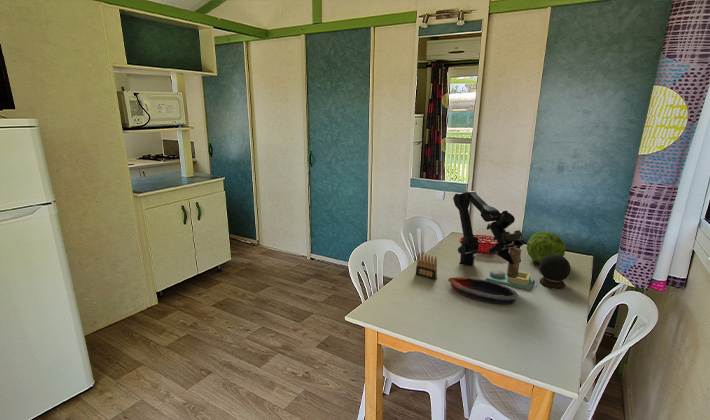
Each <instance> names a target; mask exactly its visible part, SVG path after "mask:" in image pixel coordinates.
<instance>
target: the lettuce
mask: <svg viewBox="0 0 710 420" xmlns="http://www.w3.org/2000/svg"><path fill="white" fill-rule="evenodd" d="M526 251H527V254H528V255H529V257H530V258H531V260H533V261H534V262H536V263H538V264H539V265H540V262H541V260H542V259H543V258H544V257H545V256H547V255H550V254H558V255H561V256H563V257H565V254H566V246H565V242H564V241H563V239H561V236H559V235H557V234H555V233H553V232H550V231H545V230H544V231H539V232H535V233H534V234H532V235H531V236H530V238H529V239H528V241H527V243H526Z"/></svg>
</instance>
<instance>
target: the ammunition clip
mask: <svg viewBox="0 0 710 420" xmlns="http://www.w3.org/2000/svg"><path fill="white" fill-rule="evenodd" d="M430 256H431V257H430ZM437 258H438V257H437V256H434V255H430V254H428V256H427V254H426V253H425V254H424V253H420V252H418V254H417V260H416V267H415V276H419V277H422V278H426V279H429V280H433V281H436V280H437V279H438V276H437V275H438V269H437V268H438V267H437V266H438V263H437V262H438V259H437Z"/></svg>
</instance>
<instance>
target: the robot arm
mask: <svg viewBox="0 0 710 420" xmlns="http://www.w3.org/2000/svg"><path fill="white" fill-rule="evenodd" d="M452 200H453V203H454V206H455V207H456V209H458V213H459V219H460V223H461V224H460V225H461V231H462V235H463V236H462V237H463V239H462V240H461V241H462V245H460V246H459V247H458V248H457V252H458V253H459V254H460V259H459V263H458V264H459V265H463V266H466V267H472V266H473V265H474V264H475V258H476V257H475V254H477V253H478V252H477V251H478V249H479V242H480V241H479V240H478V237H475V236H474V235H475V234H474V233H473V226H472V221H471V215H470V210H469V207H470V204H472V205H473V206H474V207H475V208H476V209H477V210H478V211H479V212H480V216H481V219H483V221H484V222H485V223H488V224H487V226H486V230H487V231H488V230H490V231H491V233H492V235H493V237H495V238H493V239H494V240H495V241H497V243H498V244H495V245H494V246H493V247H491V248H490V249H489V252H490V254H489V255H492V256H493V255H495V254H496V255H497V256H498V257H500V258H502V259H503V260H504V261H506V262H507V263H510V264H514V262H513V260H512V258H511V256H510V250H509V248H519V249H521V247H522V246H524V245H525V244H527V243H526V241H525V239H524V238H523V233H522V231H521V230H520V229H519V230H515V231H514V232H513V233H510V231H507V230H506V229H507V228H509V227H510V226H511V225H513V224H514V223H515V216H514V215H513V214H512V213H510V212H508V210H503V211H502V212H500V211H499V210H498V209H497V208H495V207H493V206H490V205H489V204H488V203H486V202H485V201H484V200H483V199H482V198H481V197H480V196H479V195H478V194H477V192H476V191H475V190H474V191H473V190H470V191H466V192H459V193H455V194H454V195H453V196H452ZM490 222H491V223H490ZM478 241H479V242H478ZM496 251H498V253H496ZM521 262H522V260H521V257H520V263H521Z"/></svg>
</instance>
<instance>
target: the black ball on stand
mask: <svg viewBox="0 0 710 420" xmlns="http://www.w3.org/2000/svg"><path fill="white" fill-rule="evenodd" d="M538 268H539V273H540V274H541V276H542V277H541V278H540V279H539V284H540V285H541V286H543V287H545V288H547V289H551V290H564V289H566V286H567V285H566V283H565V280H566V279H567V278H568V277H569V276H570V274H571V272H572V271H571V269H572V268H571V264H570V262H569V260H568V259H567V258H566V257H565V256H561V255H558V254H550V255H547V256H545V257H544V258H543V259H542V260H541V262H540V264H539V267H538Z"/></svg>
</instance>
